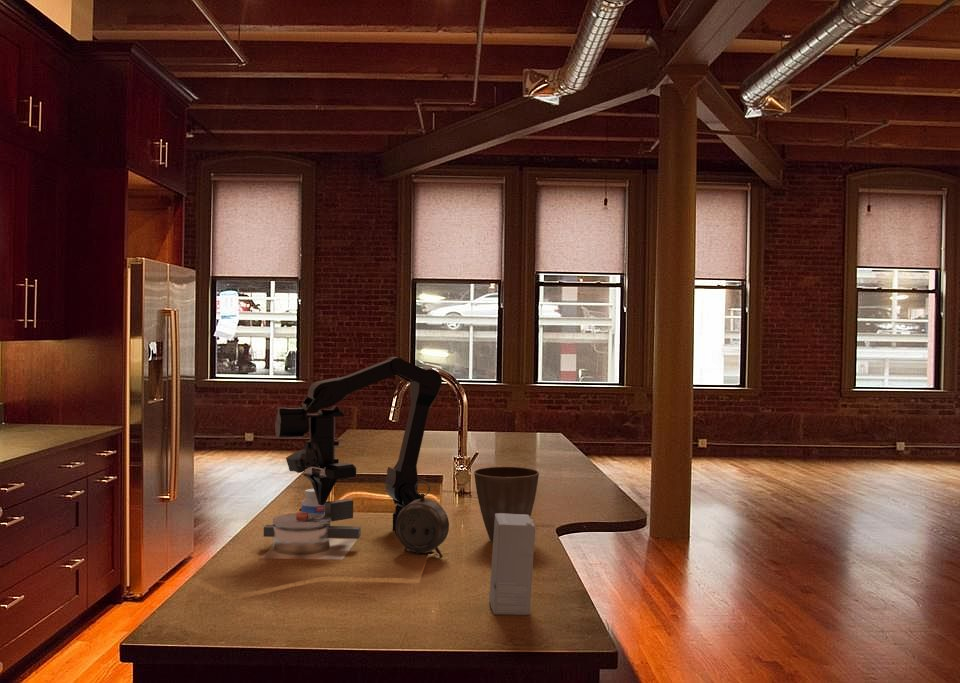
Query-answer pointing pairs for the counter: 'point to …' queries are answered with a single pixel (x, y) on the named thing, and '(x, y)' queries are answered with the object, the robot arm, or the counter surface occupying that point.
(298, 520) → the lid
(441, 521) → the alarm clock
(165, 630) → the counter surface
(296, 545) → the cooker pot
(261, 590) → the counter surface
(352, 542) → the trivet
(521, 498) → the plant pot
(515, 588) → the skincare box
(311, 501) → the pill bottle
